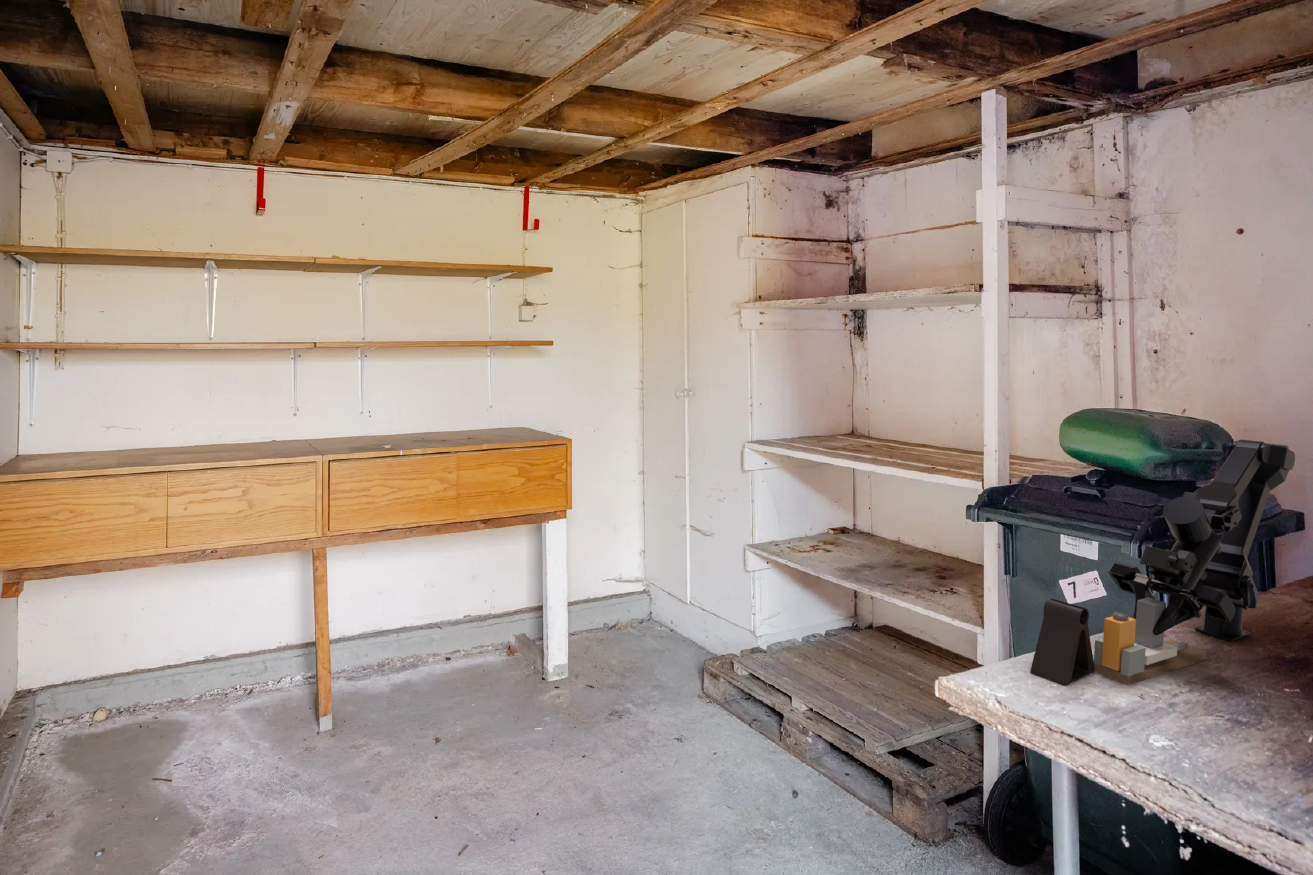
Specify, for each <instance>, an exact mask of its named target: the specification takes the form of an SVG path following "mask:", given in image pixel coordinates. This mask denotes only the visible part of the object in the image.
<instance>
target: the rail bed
mask: <svg viewBox="0 0 1313 875" xmlns="http://www.w3.org/2000/svg"><path fill="white" fill-rule="evenodd" d="M1163 642H1164V643H1167V644H1170V645H1173V646H1176V647H1177V656H1174V657H1171V658H1168V659H1165V660H1162V661H1158V662H1155V663H1152V664H1149V665H1144V671H1143V672H1140V673H1137V674H1134V675H1131V676H1126V675H1124V674H1121V670H1119V671H1116V670H1113V669H1111V668H1108V667H1106V666H1103V665H1099V664H1096V663H1094V668H1095V671H1094V673H1096V674H1100V675H1101V676H1104V677H1107V678H1108V679H1109V678H1110V679H1112V680H1114V681H1116V682H1120V683H1122V684H1123V685H1124V684H1125V685H1126V686H1129V685H1132V684H1135V683H1138V682H1141V681H1144V680H1148V679H1150V678H1153V677H1156V676H1160V675H1162V674H1166V673H1169V672H1172V671H1175V670H1178V669H1181V668H1184V667H1187V666H1190V665H1193V664H1196V663H1200V662H1203V661H1205V660H1206V658H1207V651H1206V650H1204V649H1201V648H1197V647H1194V646H1191V645H1189V643H1188V642H1185V641H1177V640H1174V639H1167V640H1165V641H1164V640H1163Z"/></svg>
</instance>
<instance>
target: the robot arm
mask: <svg viewBox="0 0 1313 875" xmlns="http://www.w3.org/2000/svg"><path fill="white" fill-rule="evenodd" d="M1295 462H1296V455H1295V452H1294V451H1292V450H1290V449H1289V446H1288V445H1286V444H1275V443H1266V442H1264V441H1259V440H1252V439H1251V440H1250V439H1239V440H1235V441H1233V443H1232V446H1231V451H1230V454H1229V455H1228V456H1227V458H1226V460H1225V461H1224V462H1223V464H1222V465H1221V467H1220V469H1219V470H1218V471H1217V473H1216V474H1215V476H1214V477H1213V479H1212V481H1211V482H1210V484H1208V485H1205V486H1202V487H1198V488H1197V489H1196V490H1195V491H1194V492H1188V491H1184V493H1183V495H1182V496H1178V497H1176V498H1173V499H1171V500H1170V501H1168V502H1167V503H1165V505H1164V506H1163V509H1162V514H1163V516H1164V518H1165V521H1166V523H1167V525H1168V528H1169V530H1170V532H1171V534H1172V537H1174V539H1176V541H1175V543H1174V544H1173V546H1172V548H1171V549H1169V548H1165V549H1163V548H1158V547H1154V546H1150V545H1145V546H1144V549H1143V553H1142V555H1141V558H1140V561H1139V564H1141V565H1145V566H1147V567H1148V569H1147V570H1148V572H1149V574H1150V575H1151V576H1154V577H1153V578H1151V577H1150V576H1148V575H1145V574H1143V573H1142V572H1141V570H1140V569H1139V567H1138V566H1135V565H1131V564H1128V563H1124V562H1121V561H1120V562H1114V563H1113V564H1112V565H1111V566H1110V568H1109V570H1108V571H1107V574H1108V575H1109V576H1110V578H1111V579H1112V580H1113V581H1114V583H1115V585H1116V586H1117V587H1118V589H1119V590H1121V591H1122V592H1125V593H1129V594H1131V595H1135V600H1134V601H1135V602H1134V610H1133V617H1132V618H1133V619H1136V611H1137V600H1140V599H1144V598H1148V597H1149V598H1152V599H1156V597H1155V594H1156V593H1160V594H1164V595H1166V596H1169V602H1168V604H1167V605H1166V609H1165V610H1164V612H1163V614H1162V615H1161V617H1160V618H1159V620H1158V621H1157V623H1156V625H1155V627H1154V629H1153V631H1152V632H1153V634H1154V635H1156V636H1157V635H1159V634H1161V633H1163V632H1164V633H1165V632H1166V631H1168V630H1170V629H1171V628H1173V627H1175V626H1178V625H1179V624H1182V623H1184V622H1186V621H1187V622H1188V621H1189V620H1191V619H1194V618H1198V619H1200V618H1202V614H1201V612H1202V609H1203V608H1205V610H1204V617H1203V618H1204V619H1203V624H1201V625H1197V626H1195V627H1194V630H1195V631H1197V632H1200V633H1204V634H1206V635H1208V636H1209V635H1210V636H1213V637H1215V638H1216V637H1217V638H1218V639H1219V638H1220V639H1222V640H1225V641H1229V642H1233V641H1237V640H1241V639H1243V638H1245V637H1249V636H1251V632H1250V631H1247V630H1243V619H1244V610H1245V611H1247V610H1249V609H1255V610H1256V609H1257V607H1258V601H1259V598H1258V597H1259V591H1258V589H1257V587H1256V584H1255V581H1254V578H1253V576H1254V573H1253V570H1252V566H1251V565H1250V562H1249V561H1248V557H1249V554H1250V551H1251V548H1252V545H1253V542H1254V539H1255V537H1256V533H1257V530H1258V527H1259V525H1260V522H1261V519H1262V516H1263V513H1264V510H1265V507H1266V504H1267V501H1268V498H1269V495H1270V493H1271V491H1272V490H1274V489H1275V488H1277V487H1278V486H1280V485H1281V484H1283V483H1284V482H1285V481H1286V479H1287V477H1288V474H1289V472H1290V471H1292V470H1294V469H1293V468H1294V467H1295ZM1216 531H1220V532H1222V535H1221V537H1219V536H1218V534H1217V533H1216Z"/></svg>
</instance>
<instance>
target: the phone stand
mask: <svg viewBox="0 0 1313 875" xmlns="http://www.w3.org/2000/svg"><path fill="white" fill-rule="evenodd" d="M1042 617H1043V619H1042V623H1041V627H1040V630H1039V633H1038V634H1039V635H1038V638H1037V642H1036V646H1035V650H1034V654H1033V659H1032V662H1031V666H1030V670H1029V672H1030V674H1033V675H1036V676H1038V677H1041V678H1044V679H1046V680H1049V681H1052V682H1055V683H1057V684H1060V685H1062V686H1068V685H1071V684H1072V683H1075V682H1077V681H1079V680H1081V679H1084V678H1087V677H1088V676H1089V675H1092V674H1094V673H1095V672H1094V671H1095V668H1094V654H1093V650H1092V644H1091V638H1090V637H1091V636H1090V635H1091V634H1090V630H1089V629H1090V628H1089V617H1090V612H1089V609H1088V608H1086V607H1083V606H1079V605H1077V604H1072V603H1069V602H1065V601H1061V600H1059V599H1055V598H1050V599H1046V601H1045V603H1044V605H1043V616H1042Z"/></svg>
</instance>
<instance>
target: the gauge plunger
mask: <svg viewBox="0 0 1313 875" xmlns="http://www.w3.org/2000/svg"><path fill="white" fill-rule="evenodd" d="M1135 630H1136V619H1133V617H1130V616H1129V614H1128V613H1125V612H1123V611H1122V612H1121V611H1114V612H1113V613H1112V615H1111V616H1109V617H1105V618H1104V625H1103V637H1102V638H1103V651H1102V665H1103V666H1106V667H1108V668H1111V669H1113V670H1116V671H1119V670H1121V661H1122V650H1123V649H1126V648H1129V647H1133V646H1134V643H1135Z"/></svg>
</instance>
